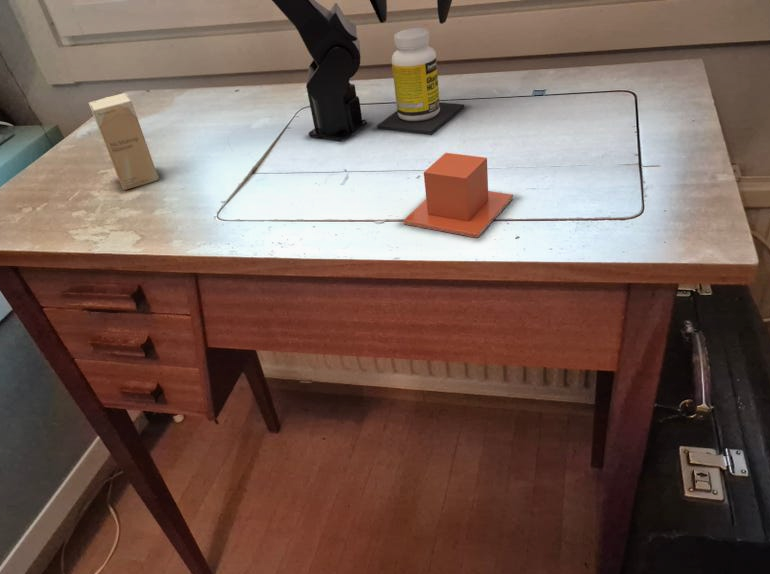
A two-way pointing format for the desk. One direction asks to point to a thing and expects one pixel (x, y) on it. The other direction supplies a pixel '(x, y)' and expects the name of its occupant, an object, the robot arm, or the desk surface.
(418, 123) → the charcoal mat
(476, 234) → the terracotta mat
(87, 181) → the desk surface
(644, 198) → the desk surface
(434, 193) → the terracotta block
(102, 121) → the box
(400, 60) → the pill bottle
